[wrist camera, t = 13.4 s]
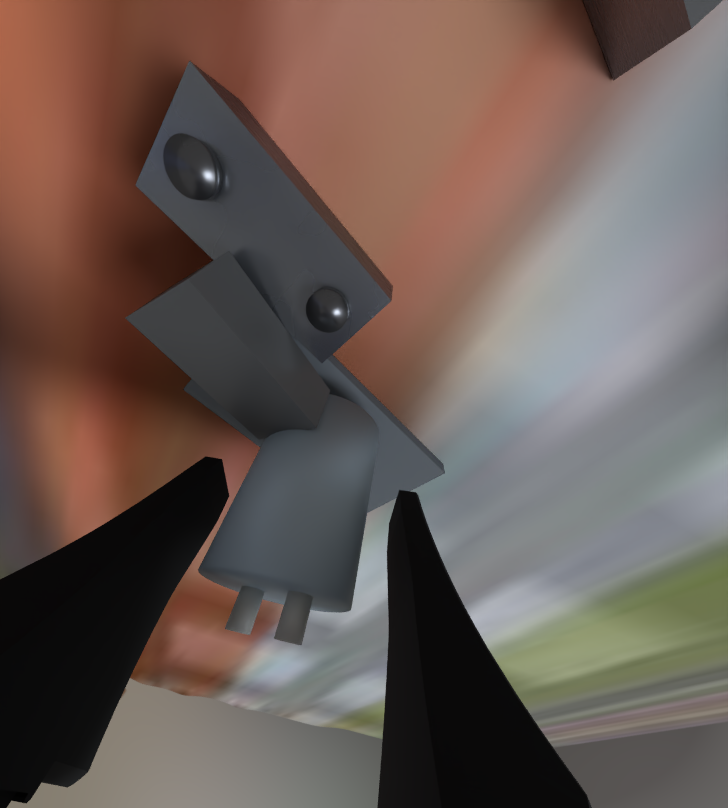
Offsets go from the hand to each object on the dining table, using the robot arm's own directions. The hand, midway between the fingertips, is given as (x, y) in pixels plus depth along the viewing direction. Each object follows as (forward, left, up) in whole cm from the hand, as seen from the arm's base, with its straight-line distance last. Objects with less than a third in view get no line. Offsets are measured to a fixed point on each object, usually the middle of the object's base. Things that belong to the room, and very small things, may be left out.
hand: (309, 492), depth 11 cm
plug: (-3, +2, -2) cm, 4 cm away
